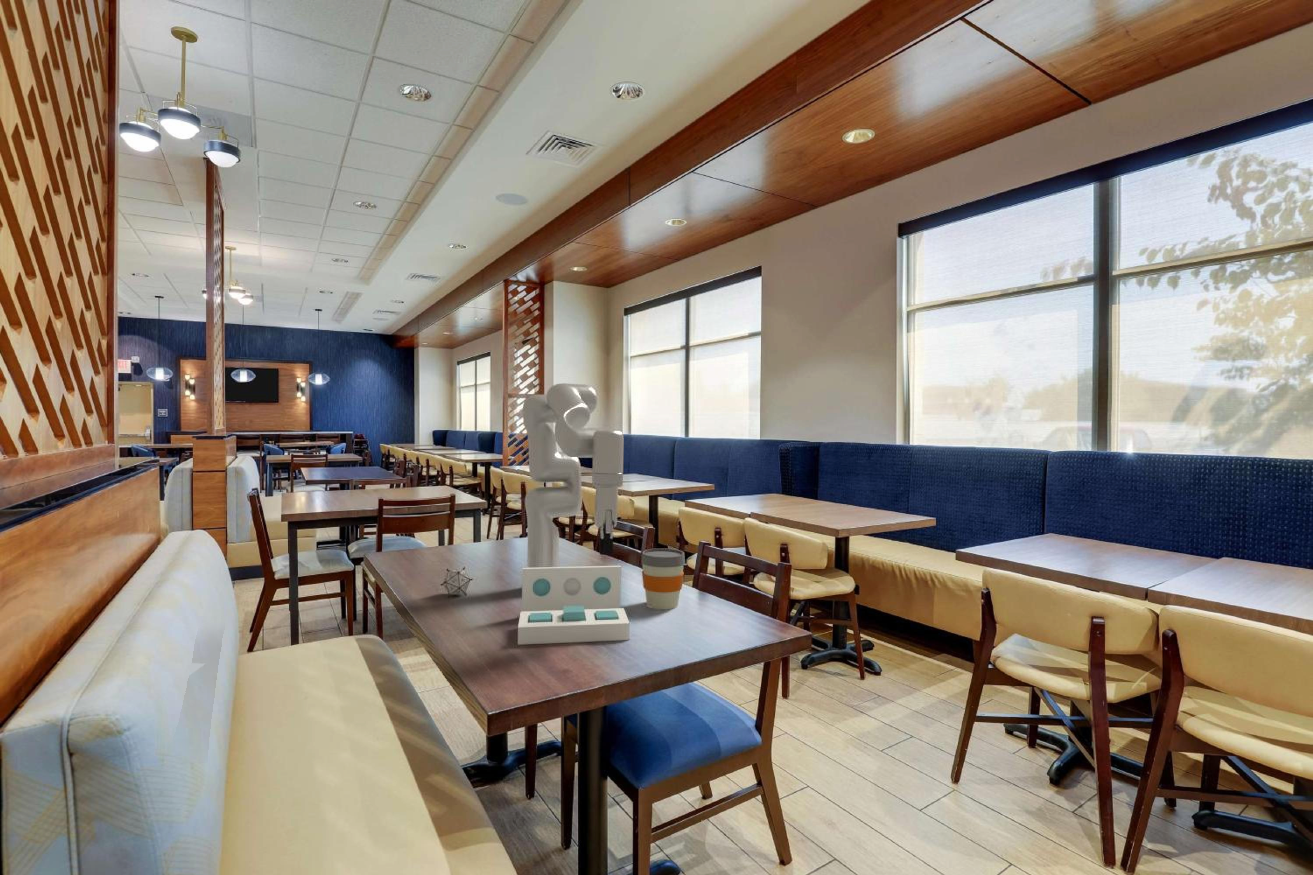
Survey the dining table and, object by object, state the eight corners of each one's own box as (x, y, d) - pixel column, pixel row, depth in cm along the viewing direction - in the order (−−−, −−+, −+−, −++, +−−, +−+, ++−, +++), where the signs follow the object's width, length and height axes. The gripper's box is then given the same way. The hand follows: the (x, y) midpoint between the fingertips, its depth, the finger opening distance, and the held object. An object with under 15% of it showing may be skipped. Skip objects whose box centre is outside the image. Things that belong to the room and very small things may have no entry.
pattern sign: (522, 613, 163) (523, 565, 163) (618, 610, 167) (619, 563, 167) (521, 620, 157) (522, 571, 157) (621, 617, 162) (622, 568, 161)
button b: (563, 619, 150) (563, 606, 150) (583, 619, 151) (583, 605, 151) (563, 626, 146) (563, 612, 145) (584, 625, 146) (584, 611, 146)
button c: (595, 624, 152) (595, 610, 152) (615, 623, 153) (615, 610, 153) (596, 631, 147) (597, 617, 147) (617, 630, 148) (617, 616, 148)
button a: (530, 626, 149) (530, 613, 149) (550, 626, 150) (550, 612, 150) (529, 633, 144) (529, 619, 144) (550, 632, 145) (550, 618, 145)
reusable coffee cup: (650, 613, 165) (651, 558, 165) (633, 600, 177) (634, 549, 177) (691, 608, 170) (692, 555, 170) (672, 596, 182) (673, 547, 182)
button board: (520, 627, 152) (520, 611, 152) (623, 623, 157) (623, 608, 157) (517, 644, 140) (518, 627, 140) (629, 639, 145) (629, 623, 145)
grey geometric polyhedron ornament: (460, 609, 178) (465, 587, 173) (433, 598, 178) (437, 576, 173) (474, 587, 186) (479, 565, 180) (448, 577, 186) (452, 555, 180)
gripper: (590, 476, 156) (588, 547, 157) (594, 483, 142) (592, 561, 142) (619, 477, 158) (617, 547, 158) (626, 483, 143) (624, 560, 143)
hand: (605, 553), depth 150 cm, fingers closed
